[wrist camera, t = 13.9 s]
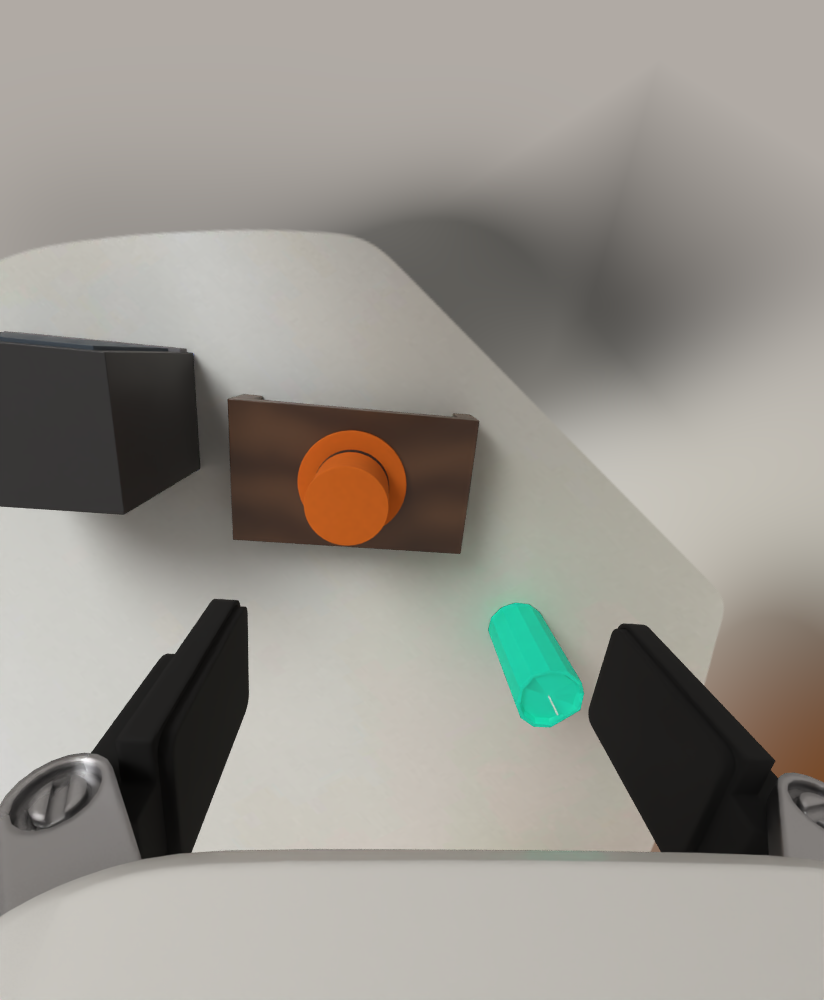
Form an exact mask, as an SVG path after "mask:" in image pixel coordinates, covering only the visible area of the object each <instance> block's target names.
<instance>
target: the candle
mask: <svg viewBox="0 0 824 1000" xmlns="http://www.w3.org/2000/svg"><path fill="white" fill-rule="evenodd" d="M488 631H489V634H490V637H491V639H492V642H493V645H494V647H495V650H496V653H497V655H498V658H499V661H500V663H501V666H502V669H503V672H504V674H505V677H506V680H507V682H508V685H509V688H510V690H511V693H512V696H513V699H514V701H515V704H516V707H517V709H518V712H519V715H520V717H521V718H522V719H523V720H525V721H526V722H528V723H529V724H530V725H532V726H533V727H552V726H554V725H555V724H557V723H559V722H561V721H562V720H564V719H566V718H568V717H569V716H571V715H573V714H574V713H576V712H578V711H580V709H581V704H582V700H583V696H584V691H583V687H582V682H581V681H580V679H579V677H578V676H577V674H576V672H575V671H574V669H573V667H572V666H571V664H570V662H569V661H568V659H567V657H566V656H565V654H564V652H563V651H562V649H561V647H560V646H559V644H558V642H557V641H556V639H555V637H554V636H553V634H552V632H551V631H550V629H549V627H548V626H547V624H546V622H545V621H544V619H543V617H542V616H541V614H540V612H539V611H537V610H536V609H535V608H533V607H532V606H531V605H529V604H522V603H513V604H510V605H507V606H504V607H502V608H500V609H499V610H498V611H497V612H496V613H495V614H494V615H493V616H492V618H491V621H490V625H489V629H488Z"/></svg>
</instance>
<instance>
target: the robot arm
mask: <svg viewBox="0 0 824 1000" xmlns="http://www.w3.org/2000/svg"><path fill="white" fill-rule="evenodd" d="M248 698H249V675H248V613H247V608H246V607H240V603H239V601H238V600H224V599H213V600H212V601H211V603H210V604H209V605H208V607H207V608H206V610H205V611H204V613H203V614H202V616H201V617H200V618H199V620H198V621H197V623H196V624H195V626H194V627H193V629H192V630H191V631H190V633H189V634H188V636H187V637H186V639H185V640H184V642H183V643H182V644H181V646H180V647H179V649H178V650H177V652H176V653H175V654H165V655H163V656H162V657H161V658H160V659H159V661H158V662H157V663H156V665H155V666H154V667H153V669H152V670H151V671H150V673H149V674H148V676H147V677H146V678H145V680H144V681H143V682H142V684H141V685H140V687H139V688H138V689H137V691H136V692H135V693H134V695H133V696H132V698H131V699H130V700H129V702H128V703H127V704H126V706H125V707H124V709H123V710H122V711H121V713H120V714H119V715H118V717H117V718H116V719H115V721H114V722H113V724H112V725H111V726H110V728H109V729H108V730H107V732H106V733H105V735H104V736H103V737H102V739H101V740H100V741H99V743H98V744H97V746H96V747H95V748H94V750H93V751H92V752H91V753H80V754H73V755H68V756H65V757H62V758H59V759H56V760H53V761H51V762H49V763H47V764H45V765H43V766H41V767H39V768H37V769H36V770H34V771H33V772H31V773H30V774H29V775H27V776H26V777H25V778H23V779H22V780H21V781H19V782H18V783H17V784H16V785H15V786H14V787H13V788H12V789H11V791H10V792H9V793H8V794H7V795H6V796H5V798H4V799H3V801H2V803H1V804H0V1000H824V783H823V782H821V781H819V780H816V779H814V778H812V777H809V776H807V775H802V774H798V773H785V774H783V775H781V776H780V777H779V778H777V776H776V775H775V774H774V773H773V772H772V771H771V768H772V766H773V764H774V762H775V760H774V759H773V758H772V757H771V756H770V755H769V754H768V753H767V751H766V750H765V749H764V748H763V747H762V746H761V745H760V744H759V743H758V742H757V741H756V740H755V739H754V738H753V737H752V736H751V735H750V734H749V732H747V730H746V729H745V728H744V727H743V726H742V725H741V724H740V723H739V722H738V721H737V720H736V719H735V718H734V717H733V716H732V715H731V714H730V712H728V710H727V709H726V708H725V707H724V706H723V705H722V704H721V703H720V702H719V701H718V700H717V699H716V698H715V697H714V696H713V695H712V694H711V693H710V691H709V690H708V689H707V688H706V687H705V686H704V685H703V684H702V683H701V682H700V681H699V680H698V679H697V678H696V677H695V676H694V675H693V674H692V673H691V671H690V670H689V669H688V668H687V667H686V666H685V665H684V664H683V663H682V662H681V661H680V660H679V659H678V658H677V657H676V656H675V655H674V654H673V653H672V652H671V650H670V649H669V648H668V647H667V646H666V645H665V644H664V643H663V642H662V641H661V640H660V639H659V638H658V637H657V636H656V635H655V634H654V633H653V632H652V630H651V629H650V628H649V627H647V626H646V625H639V624H621V625H620V626H619V627H618V629H614V631H613V632H612V634H611V638H610V641H609V644H608V647H607V651H606V654H605V657H604V661H603V664H602V667H601V670H600V674H599V677H598V680H597V683H596V687H595V690H594V693H593V697H592V700H591V703H590V706H589V714H588V715H589V720H590V723H591V726H592V727H593V729H594V731H595V733H596V735H597V737H598V738H599V740H600V742H601V744H602V746H603V747H604V749H605V751H606V753H607V755H608V756H609V758H610V760H611V762H612V764H613V766H614V767H615V769H616V771H617V773H618V775H619V776H620V778H621V780H622V782H623V784H624V786H625V787H626V789H627V791H628V793H629V795H630V796H631V798H632V800H633V802H634V804H635V806H636V807H637V809H638V811H639V813H640V815H641V816H642V818H643V820H644V822H645V824H646V826H647V827H648V829H649V831H650V833H651V835H652V836H653V838H654V840H655V842H656V844H657V846H658V847H659V849H660V851H661V852H617V851H539V850H406V849H294V850H231V851H212V852H197V853H191V852H192V850H193V847H194V845H195V842H196V839H197V837H198V834H199V832H200V829H201V826H202V824H203V821H204V819H205V816H206V813H207V811H208V808H209V806H210V803H211V800H212V798H213V795H214V793H215V790H216V787H217V785H218V782H219V780H220V777H221V774H222V772H223V769H224V767H225V764H226V761H227V759H228V756H229V754H230V751H231V748H232V746H233V743H234V741H235V738H236V736H237V733H238V730H239V728H240V725H241V723H242V720H243V717H244V715H245V712H246V709H247V705H248Z"/></svg>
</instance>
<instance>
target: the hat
mask: <svg viewBox="0 0 824 1000" xmlns="http://www.w3.org/2000/svg"><path fill="white" fill-rule="evenodd" d="M298 491H299V495H300V498H301V501H302V503H303V505H304V511H305V516H306V519H307V521H308V523H309V525H310V526H311V528H312V529H313V530H314V531H315V532H316V533H317V534H318V535H319V536H320V537H322V538H323V539H325V540H327V541H328V542H331V543H334V544H337V545H344V546H351V545H358V544H361V543H364V542H366V541H368V540H370V539H372V538H373V537H374V536H376V535H377V534H378V533H379V532H380V530H381V529H382V528H383V526H385V525H386V524H387V523H389V522H390V521H391V520H392V519H393V518H394V517H395V515H396V514H397V513H398V511H399V510H400V508H401V506H402V504H403V501H404V498H405V494H406V474H405V470H404V467H403V464H402V462H401V460H400V458H399V456H398V455H397V454H396V452H395V451H394V450H393V449H392V448H391V447H390V446H389V445H388V444H387V443H386V442H385V441H383V440H382V439H380V438H378V437H377V436H374V435H372V434H370V433H366V432H362V431H356V430H347V431H340V432H336V433H332V434H330V435H327V436H326V437H324V438H322V439H320V440H319V441H318V442H316V443H315V444H314V445H313V446H312V447H311V448H310V449H309V451H308V452H307V453H306V455H305V456H304V458H303V460H302V462H301V465H300V468H299V472H298Z"/></svg>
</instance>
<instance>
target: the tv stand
mask: <svg viewBox="0 0 824 1000" xmlns="http://www.w3.org/2000/svg"><path fill="white" fill-rule="evenodd" d="M228 419H229V446H230V472H231V499H232V525H233V540H248V541H263V542H279V543H295V544H311V545H327V546H343V547H359V548H375V549H391V550H406V551H422V552H438V553H454V554H460V553H461V546H462V539H463V532H464V525H465V518H466V511H467V504H468V497H469V490H470V483H471V476H472V469H473V462H474V455H475V448H476V441H477V434H478V427H479V421H478V420H477V419H475V418H474V417H473V416H471V415H468V414H457V413H453V417H449V416H437V415H426V414H415V413H404V412H393V411H381V410H370V409H359V408H348V407H337V406H325V405H314V404H303V403H292V402H281V401H269V400H262V396H258V395H247V394H243V395H239V396H236V397H232V398H229V399H228ZM347 430H356V431H362V432H366V433H370V434H372V435H374V436H377V437H378V438H380V439H382V440H383V441H385V442H386V443H387V444H388V445H389V446H390V447H391V448H392V449H393V450H394V451H395V452H396V454H397V455H398V456H399V458H400V460H401V462H402V464H403V467H404V470H405V474H406V494H405V498H404V501H403V504H402V506H401V508H400V510H399V511H398V513H397V514H396V515H395V517H394V518H393V519H392V520H391V521H390V522H389V523H387V524H386V525H385V526H383V528H382V529H381V530H380V532H379V533H378V534H377V535H376V536H374V537H373V538H372V539H370V540H368V541H366V542H364V543H361V544H358V545H351V546H344V545H337V544H334V543H331V542H328V541H327V540H325V539H323V538H322V537H320V536H319V535H318V534H317V533H316V532H315V531H314V530H313V529H312V528H311V526H310V525H309V523H308V521H307V519H306V516H305V511H304V505H303V503H302V501H301V498H300V495H299V491H298V472H299V468H300V465H301V462H302V460H303V458H304V456H305V455H306V453H307V452H308V451H309V449H310V448H311V447H312V446H313V445H314V444H315V443H316V442H318V441H319V440H320V439H322V438H324V437H326V436H327V435H330V434H332V433H336V432H340V431H347Z"/></svg>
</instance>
